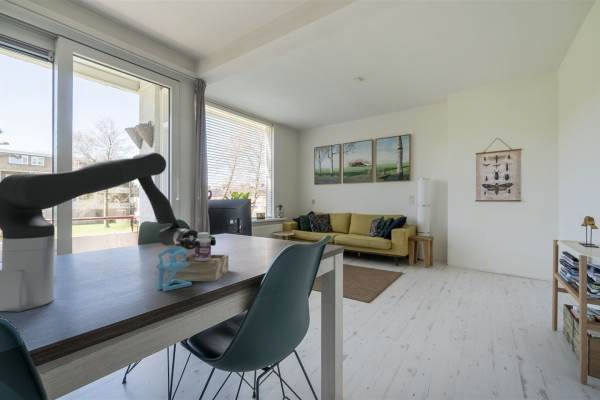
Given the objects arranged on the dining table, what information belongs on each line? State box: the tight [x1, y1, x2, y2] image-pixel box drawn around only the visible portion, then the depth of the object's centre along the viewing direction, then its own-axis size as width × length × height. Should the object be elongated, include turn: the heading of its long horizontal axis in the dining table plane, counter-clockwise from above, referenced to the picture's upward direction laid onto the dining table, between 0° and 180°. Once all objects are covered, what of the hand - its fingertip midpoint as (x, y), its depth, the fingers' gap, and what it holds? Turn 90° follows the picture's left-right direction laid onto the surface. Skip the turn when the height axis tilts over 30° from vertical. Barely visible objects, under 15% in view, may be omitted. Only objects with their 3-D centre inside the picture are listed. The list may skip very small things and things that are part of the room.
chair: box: [155, 246, 193, 292], centre depth 81 cm, size 8×8×12 cm
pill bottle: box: [194, 231, 212, 261], centre depth 94 cm, size 5×5×10 cm
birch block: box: [173, 253, 229, 282], centre depth 94 cm, size 14×14×6 cm
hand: (206, 243), depth 93 cm, fingers closed on pill bottle, 5 cm apart
